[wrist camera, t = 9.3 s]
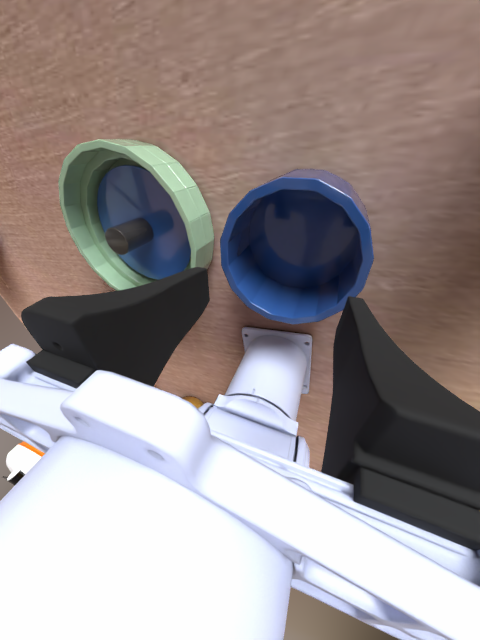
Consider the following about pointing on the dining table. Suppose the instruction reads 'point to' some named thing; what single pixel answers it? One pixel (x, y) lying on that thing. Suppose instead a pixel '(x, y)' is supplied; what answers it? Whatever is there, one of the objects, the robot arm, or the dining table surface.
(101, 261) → the bowl
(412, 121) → the dining table surface
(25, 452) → the shaker bottle
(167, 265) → the lid
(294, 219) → the pot
